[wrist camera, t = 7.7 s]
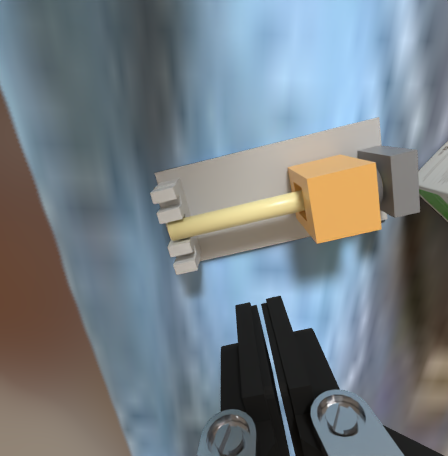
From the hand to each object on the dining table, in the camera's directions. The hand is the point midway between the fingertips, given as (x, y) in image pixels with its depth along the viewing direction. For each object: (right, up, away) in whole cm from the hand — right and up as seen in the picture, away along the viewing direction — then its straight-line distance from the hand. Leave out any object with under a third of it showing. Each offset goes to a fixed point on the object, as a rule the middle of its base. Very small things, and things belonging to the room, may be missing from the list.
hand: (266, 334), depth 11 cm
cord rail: (+3, +7, +20) cm, 21 cm away
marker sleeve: (+8, +8, +19) cm, 22 cm away
